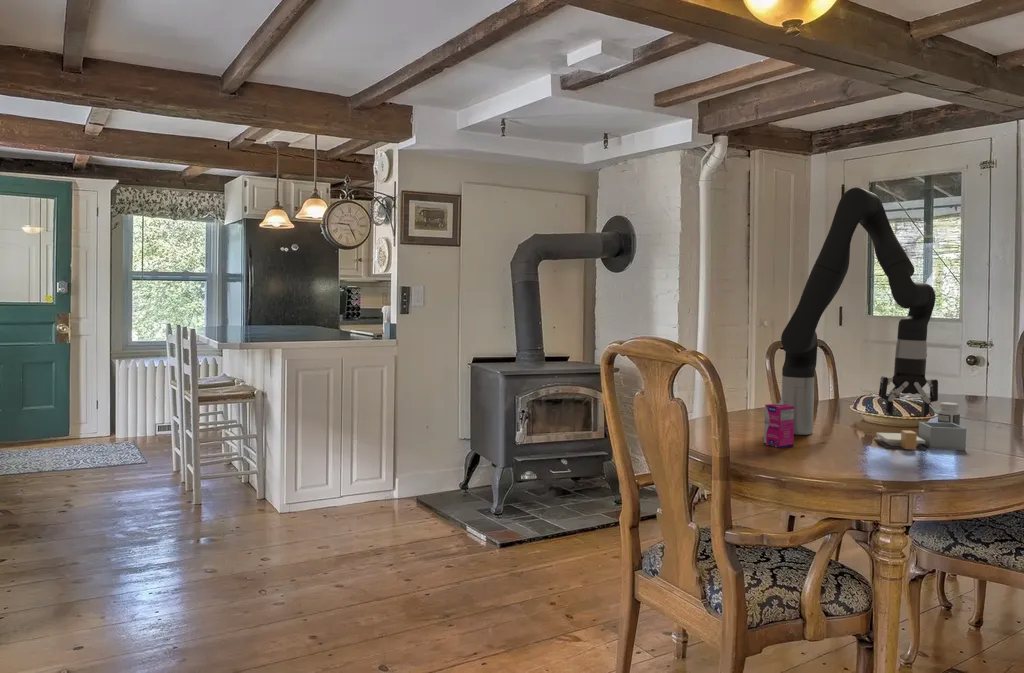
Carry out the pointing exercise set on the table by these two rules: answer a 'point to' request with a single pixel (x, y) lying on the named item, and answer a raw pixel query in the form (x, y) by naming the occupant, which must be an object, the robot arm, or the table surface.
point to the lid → (902, 439)
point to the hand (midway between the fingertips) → (906, 415)
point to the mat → (896, 446)
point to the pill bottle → (949, 413)
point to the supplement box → (779, 425)
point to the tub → (942, 435)
